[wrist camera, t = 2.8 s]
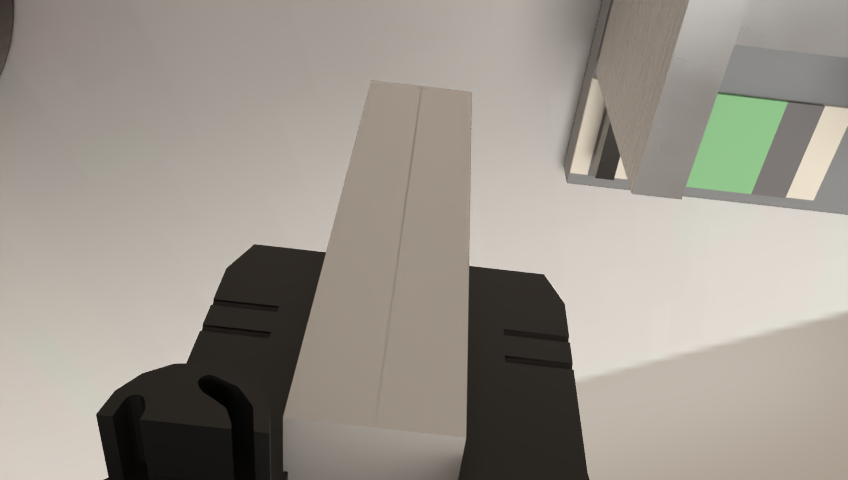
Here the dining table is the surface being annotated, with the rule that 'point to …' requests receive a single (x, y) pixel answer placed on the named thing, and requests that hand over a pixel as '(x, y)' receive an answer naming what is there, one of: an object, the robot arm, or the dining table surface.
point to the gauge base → (747, 131)
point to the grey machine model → (688, 75)
